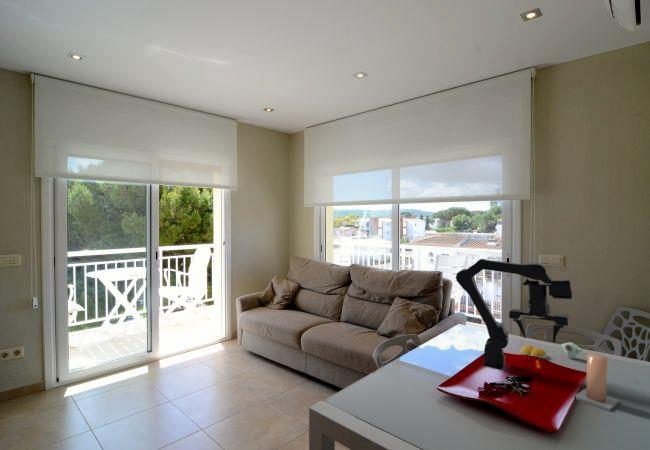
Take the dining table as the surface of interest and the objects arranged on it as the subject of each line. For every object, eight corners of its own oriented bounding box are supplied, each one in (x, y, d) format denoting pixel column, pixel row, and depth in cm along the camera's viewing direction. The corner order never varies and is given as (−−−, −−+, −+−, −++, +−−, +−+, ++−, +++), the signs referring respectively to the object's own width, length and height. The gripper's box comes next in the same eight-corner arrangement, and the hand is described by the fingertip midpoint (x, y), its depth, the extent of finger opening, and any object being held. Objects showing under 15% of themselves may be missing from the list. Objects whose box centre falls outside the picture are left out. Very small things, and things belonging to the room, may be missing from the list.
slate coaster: (574, 398, 112) (574, 396, 112) (584, 390, 117) (584, 388, 117) (609, 411, 105) (609, 408, 104) (618, 402, 110) (618, 399, 110)
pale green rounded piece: (583, 361, 143) (584, 344, 143) (578, 362, 141) (578, 346, 141) (563, 354, 150) (563, 338, 150) (557, 355, 148) (557, 339, 148)
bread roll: (542, 361, 142) (542, 351, 142) (518, 355, 149) (518, 345, 149) (549, 356, 148) (549, 347, 148) (525, 350, 154) (526, 341, 154)
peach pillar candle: (589, 399, 110) (590, 358, 109) (583, 392, 114) (585, 352, 114) (608, 403, 108) (610, 360, 108) (602, 395, 112) (603, 355, 112)
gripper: (572, 296, 129) (573, 339, 129) (515, 292, 142) (517, 330, 142) (566, 301, 121) (568, 347, 121) (507, 296, 134) (509, 337, 133)
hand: (539, 340), depth 129 cm, fingers open, 9 cm apart
